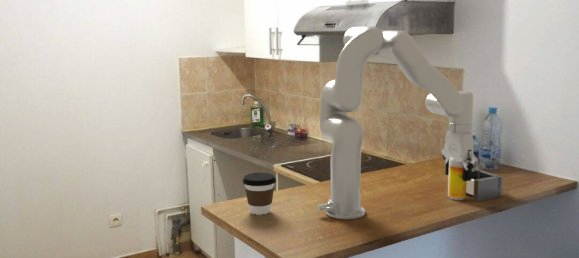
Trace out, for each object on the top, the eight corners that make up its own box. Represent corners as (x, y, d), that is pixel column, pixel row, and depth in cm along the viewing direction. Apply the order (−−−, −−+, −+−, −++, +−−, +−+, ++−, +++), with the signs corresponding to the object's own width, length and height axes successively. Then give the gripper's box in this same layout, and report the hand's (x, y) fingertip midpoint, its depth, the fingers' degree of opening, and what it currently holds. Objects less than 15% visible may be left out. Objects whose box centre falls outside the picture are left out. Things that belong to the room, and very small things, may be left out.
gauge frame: (477, 201, 189) (478, 180, 188) (453, 191, 200) (454, 171, 198) (501, 196, 194) (502, 175, 192) (476, 187, 204) (477, 168, 203)
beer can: (466, 200, 189) (468, 158, 187) (448, 200, 191) (449, 157, 188) (464, 195, 195) (466, 154, 192) (447, 194, 196) (448, 153, 194)
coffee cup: (239, 209, 185) (238, 174, 183) (270, 204, 189) (269, 170, 187) (249, 219, 175) (248, 182, 173) (281, 214, 179) (281, 178, 177)
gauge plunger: (474, 195, 191) (475, 174, 190) (455, 188, 200) (456, 168, 199) (486, 193, 194) (487, 172, 192) (467, 186, 202) (468, 166, 201)
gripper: (434, 124, 195) (433, 173, 198) (469, 133, 179) (467, 185, 182) (451, 123, 198) (449, 170, 201) (487, 131, 182) (484, 182, 185)
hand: (458, 177), depth 192 cm, fingers open, 8 cm apart
